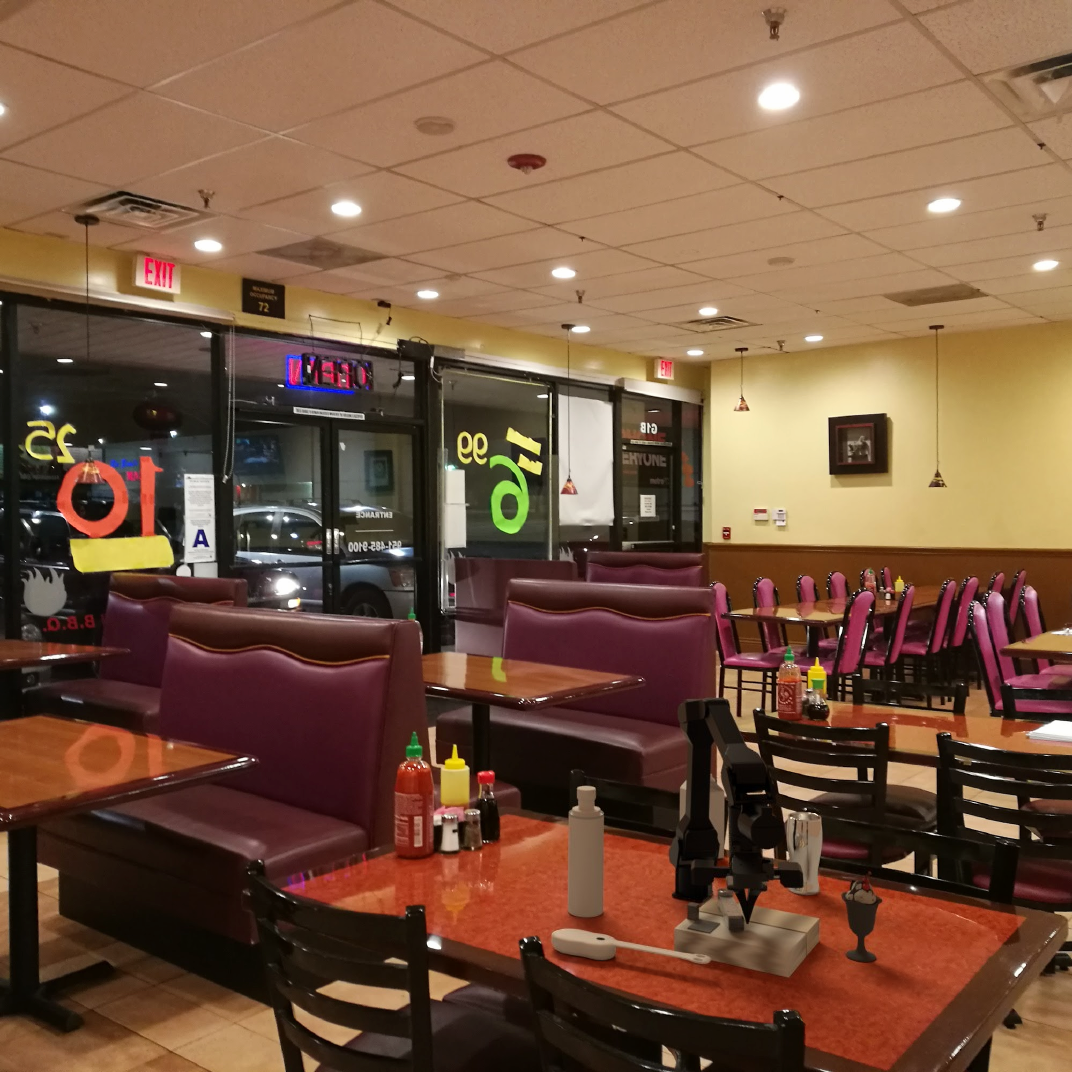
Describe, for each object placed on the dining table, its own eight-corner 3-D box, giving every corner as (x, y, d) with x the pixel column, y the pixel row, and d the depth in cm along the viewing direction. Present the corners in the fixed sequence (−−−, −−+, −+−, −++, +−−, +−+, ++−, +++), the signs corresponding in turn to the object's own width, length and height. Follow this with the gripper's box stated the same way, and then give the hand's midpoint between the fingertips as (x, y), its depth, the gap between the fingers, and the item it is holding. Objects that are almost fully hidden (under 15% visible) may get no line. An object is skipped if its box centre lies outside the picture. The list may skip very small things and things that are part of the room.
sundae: (876, 967, 173) (877, 877, 173) (836, 958, 177) (836, 870, 177) (886, 954, 179) (887, 866, 179) (846, 945, 182) (847, 860, 182)
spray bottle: (610, 911, 198) (611, 779, 198) (587, 920, 194) (588, 785, 194) (583, 902, 203) (584, 774, 203) (560, 911, 198) (561, 779, 198)
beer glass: (818, 885, 214) (819, 812, 214) (824, 896, 207) (825, 821, 207) (784, 883, 215) (784, 811, 215) (788, 895, 208) (789, 820, 208)
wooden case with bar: (674, 951, 179) (674, 913, 179) (712, 919, 195) (712, 884, 195) (788, 977, 169) (788, 937, 169) (819, 941, 185) (819, 904, 185)
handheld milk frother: (715, 970, 172) (715, 953, 172) (705, 984, 167) (705, 966, 167) (559, 941, 184) (559, 924, 184) (546, 952, 178) (546, 935, 178)
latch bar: (716, 902, 191) (716, 888, 191) (731, 902, 191) (731, 888, 191) (728, 930, 177) (728, 914, 177) (744, 930, 177) (744, 915, 177)
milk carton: (698, 863, 228) (698, 776, 228) (679, 854, 235) (679, 769, 235) (724, 858, 232) (724, 773, 232) (704, 849, 238) (705, 766, 238)
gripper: (689, 845, 173) (691, 939, 173) (805, 848, 170) (807, 943, 170) (690, 826, 184) (692, 914, 184) (799, 828, 181) (801, 918, 181)
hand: (747, 923), depth 179 cm, fingers closed
